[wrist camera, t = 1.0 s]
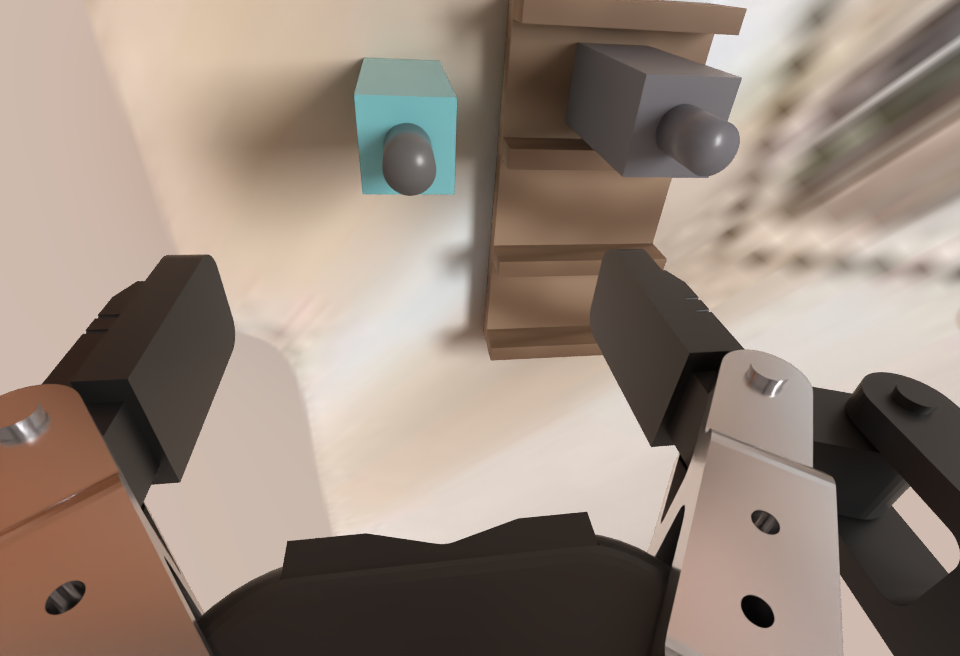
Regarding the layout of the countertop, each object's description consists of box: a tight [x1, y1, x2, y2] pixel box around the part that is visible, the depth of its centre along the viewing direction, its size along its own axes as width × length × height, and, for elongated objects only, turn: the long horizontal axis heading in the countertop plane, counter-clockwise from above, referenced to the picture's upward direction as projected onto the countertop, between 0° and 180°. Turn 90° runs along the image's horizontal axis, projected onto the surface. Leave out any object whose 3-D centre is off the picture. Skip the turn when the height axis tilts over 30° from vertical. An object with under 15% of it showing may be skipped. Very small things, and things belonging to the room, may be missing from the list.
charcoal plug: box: [565, 42, 742, 178], centre depth 20 cm, size 4×4×10 cm
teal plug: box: [354, 58, 457, 196], centre depth 21 cm, size 4×4×10 cm
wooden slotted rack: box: [483, 0, 747, 360], centre depth 28 cm, size 20×10×3 cm, turn 177°
